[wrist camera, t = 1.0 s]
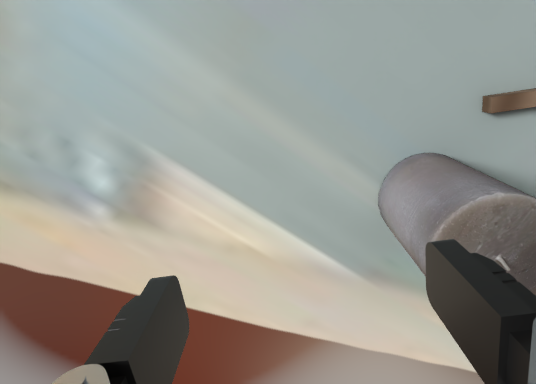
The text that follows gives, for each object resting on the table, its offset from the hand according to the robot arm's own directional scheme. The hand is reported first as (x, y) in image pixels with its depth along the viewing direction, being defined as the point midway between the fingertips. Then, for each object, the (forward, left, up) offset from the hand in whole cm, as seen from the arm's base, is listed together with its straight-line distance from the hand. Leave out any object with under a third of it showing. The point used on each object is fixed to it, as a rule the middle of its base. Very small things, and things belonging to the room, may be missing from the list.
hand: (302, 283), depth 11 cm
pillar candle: (+3, +16, -27) cm, 31 cm away
